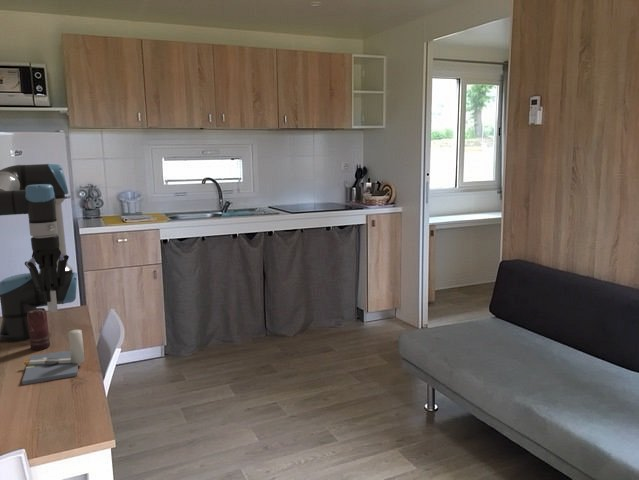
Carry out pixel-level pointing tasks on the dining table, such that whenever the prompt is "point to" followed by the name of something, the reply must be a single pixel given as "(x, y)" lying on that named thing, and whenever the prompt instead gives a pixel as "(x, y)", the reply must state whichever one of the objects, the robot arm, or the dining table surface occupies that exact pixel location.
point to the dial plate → (49, 368)
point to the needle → (75, 351)
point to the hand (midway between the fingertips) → (52, 310)
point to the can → (38, 329)
